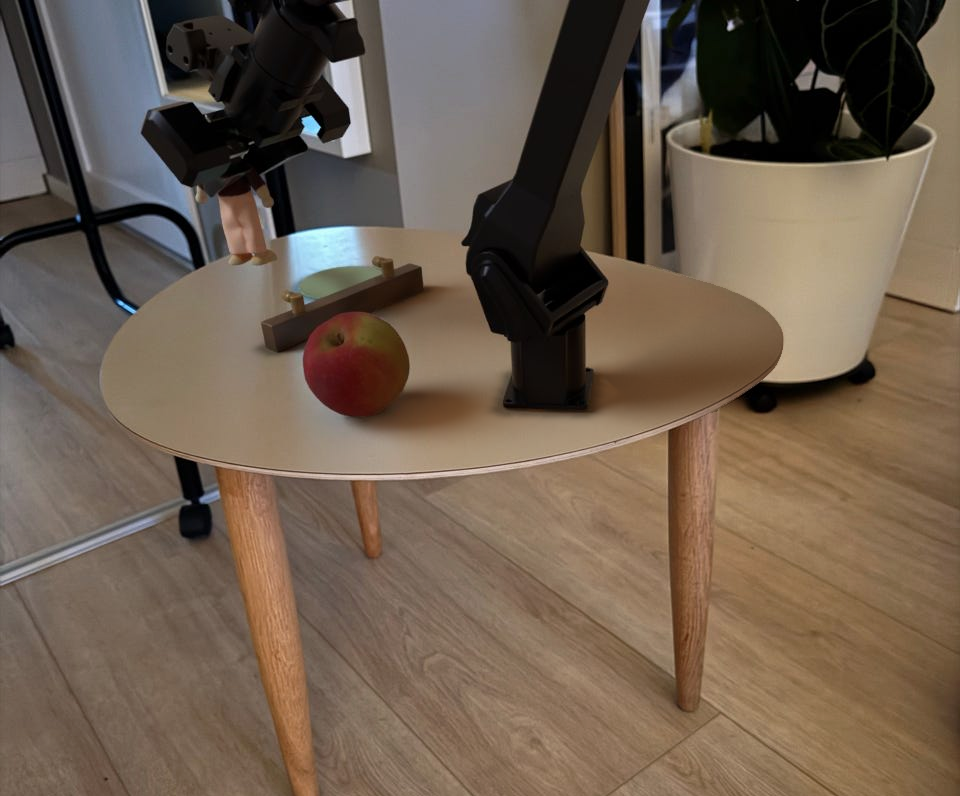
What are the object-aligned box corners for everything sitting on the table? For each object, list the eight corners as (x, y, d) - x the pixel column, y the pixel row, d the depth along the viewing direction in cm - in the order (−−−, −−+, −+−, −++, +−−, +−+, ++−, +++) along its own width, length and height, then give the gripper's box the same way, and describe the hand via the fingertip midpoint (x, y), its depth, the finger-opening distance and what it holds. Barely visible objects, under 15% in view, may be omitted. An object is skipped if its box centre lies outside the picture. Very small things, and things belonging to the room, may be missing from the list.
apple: (303, 402, 75) (285, 307, 71) (400, 381, 77) (389, 288, 73) (323, 445, 69) (305, 345, 65) (428, 421, 71) (417, 322, 67)
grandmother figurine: (292, 253, 89) (269, 111, 83) (281, 266, 86) (255, 119, 79) (214, 255, 90) (185, 115, 83) (200, 268, 87) (168, 123, 80)
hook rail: (277, 352, 84) (268, 309, 82) (199, 319, 92) (189, 279, 89) (430, 287, 95) (426, 247, 93) (349, 263, 103) (343, 225, 100)
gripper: (304, -35, 80) (242, 98, 91) (121, -7, 67) (76, 142, 79) (387, 68, 80) (314, 188, 91) (219, 114, 67) (160, 246, 79)
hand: (221, 188), depth 85 cm, fingers closed on grandmother figurine, 3 cm apart
